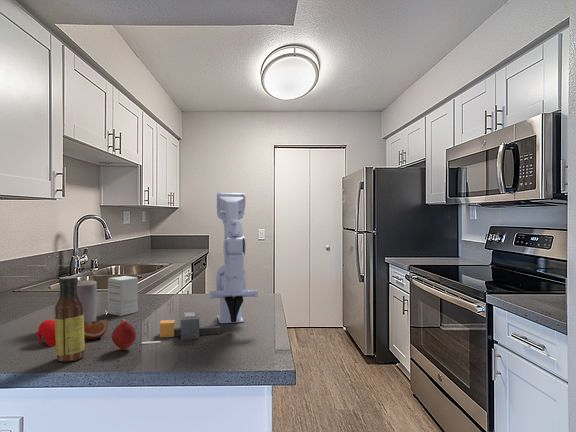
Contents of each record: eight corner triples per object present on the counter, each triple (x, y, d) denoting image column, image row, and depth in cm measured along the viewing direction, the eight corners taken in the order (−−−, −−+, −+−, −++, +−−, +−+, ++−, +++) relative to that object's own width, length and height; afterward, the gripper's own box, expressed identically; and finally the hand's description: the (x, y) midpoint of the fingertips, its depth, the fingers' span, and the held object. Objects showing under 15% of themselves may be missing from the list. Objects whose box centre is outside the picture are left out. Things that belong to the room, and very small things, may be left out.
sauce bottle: (88, 354, 106) (89, 275, 106) (77, 363, 100) (78, 279, 100) (62, 354, 106) (63, 275, 106) (49, 363, 100) (50, 278, 100)
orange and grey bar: (220, 331, 129) (220, 318, 129) (220, 334, 126) (221, 320, 126) (160, 333, 125) (160, 320, 125) (159, 337, 122) (159, 323, 122)
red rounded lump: (128, 345, 114) (128, 315, 114) (140, 349, 110) (140, 319, 110) (107, 350, 109) (108, 319, 109) (119, 355, 106) (119, 323, 106)
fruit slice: (77, 343, 115) (77, 325, 115) (73, 337, 120) (73, 320, 120) (109, 339, 119) (110, 321, 119) (104, 333, 125) (104, 316, 125)
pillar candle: (64, 323, 136) (64, 276, 135) (97, 320, 139) (98, 275, 139) (59, 331, 126) (60, 281, 126) (95, 328, 130) (95, 280, 130)
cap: (31, 329, 116) (32, 322, 112) (54, 319, 120) (55, 312, 116) (44, 354, 115) (45, 348, 110) (67, 343, 118) (69, 336, 114)
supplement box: (124, 309, 156) (125, 275, 156) (138, 312, 152) (138, 277, 152) (107, 313, 150) (107, 277, 150) (120, 316, 146) (121, 279, 146)
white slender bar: (141, 343, 116) (141, 342, 116) (160, 342, 117) (160, 340, 117) (141, 344, 115) (141, 343, 115) (160, 343, 116) (160, 341, 116)
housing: (180, 330, 129) (180, 310, 129) (197, 329, 131) (197, 310, 131) (181, 340, 119) (181, 319, 119) (199, 338, 120) (199, 318, 120)
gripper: (211, 279, 123) (210, 326, 123) (260, 278, 126) (259, 323, 127) (209, 275, 129) (208, 319, 130) (255, 274, 133) (254, 317, 133)
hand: (233, 321), depth 129 cm, fingers closed
